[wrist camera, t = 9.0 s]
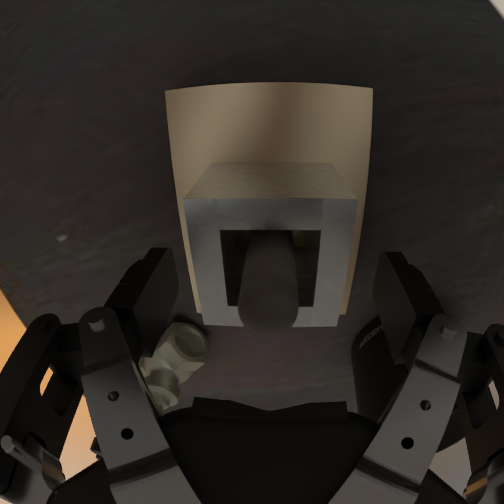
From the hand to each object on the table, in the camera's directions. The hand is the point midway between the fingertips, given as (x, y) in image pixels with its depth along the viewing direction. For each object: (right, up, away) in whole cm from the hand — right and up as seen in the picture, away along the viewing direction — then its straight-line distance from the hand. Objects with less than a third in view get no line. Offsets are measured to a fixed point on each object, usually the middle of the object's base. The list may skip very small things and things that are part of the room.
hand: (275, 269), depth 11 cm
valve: (-7, -7, +13) cm, 16 cm away
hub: (0, +3, +4) cm, 5 cm away
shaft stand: (0, +3, +6) cm, 7 cm away
